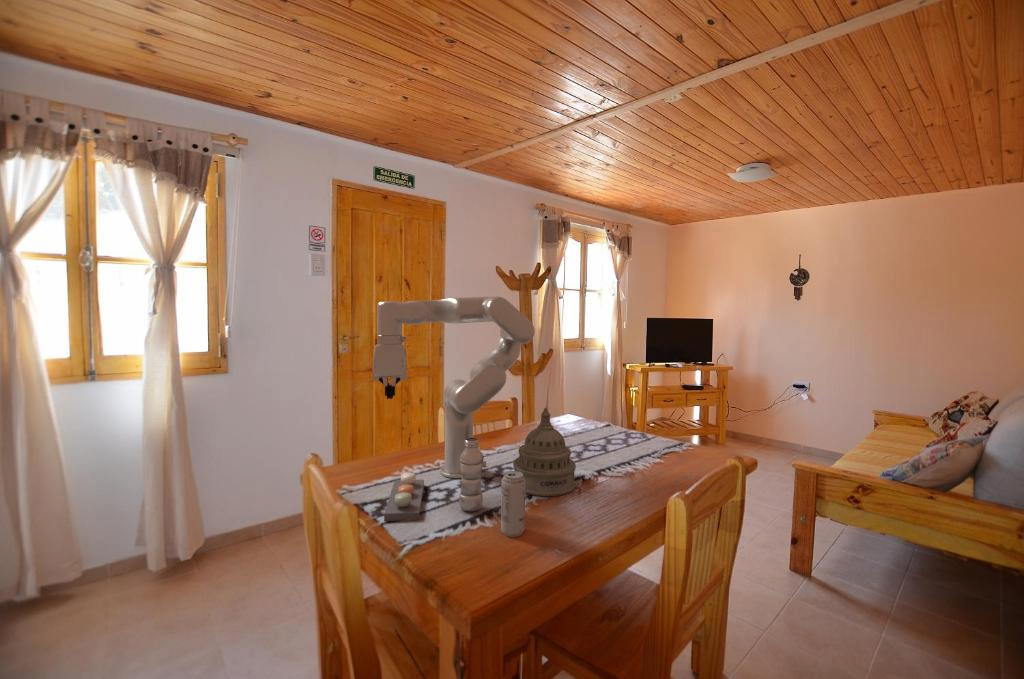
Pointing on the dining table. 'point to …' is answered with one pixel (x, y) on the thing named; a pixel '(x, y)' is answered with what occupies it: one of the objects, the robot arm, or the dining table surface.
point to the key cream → (408, 478)
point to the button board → (404, 511)
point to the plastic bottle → (471, 476)
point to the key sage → (403, 499)
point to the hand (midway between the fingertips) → (390, 397)
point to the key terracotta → (406, 489)
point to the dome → (546, 461)
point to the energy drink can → (513, 504)
